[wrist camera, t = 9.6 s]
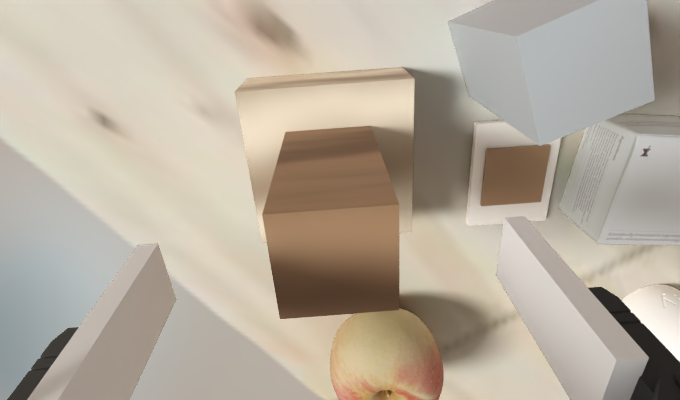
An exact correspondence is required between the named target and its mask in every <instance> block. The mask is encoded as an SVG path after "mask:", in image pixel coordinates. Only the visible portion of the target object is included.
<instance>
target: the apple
mask: <svg viewBox="0 0 680 400" xmlns="http://www.w3.org/2000/svg"><path fill="white" fill-rule="evenodd" d="M330 373H331V380H332V384H333V387H334V390H335V392H336V394H337V397H338V398H339V400H438V399H439V397H440V394H441V390H442V386H443V364H442V359H441V355H440V352H439V349H438V346H437V344H436V342H435V339H434V337H433V335H432V334H431V332H430V330H429V329H428V328H427V326H426V325H425V324H424V323H423V322H422V321H421V320H420V319H419V318H418V317H417V316H416V315H414V314H413V313H411V312H409V311H407V310H404V309H400V308H399V310H394V311H381V312H367V313H356V314H354V315H353V316H351V317H350V318H349V319H348V320H346V321H345V322H344V323H343V325H342V326H341V327H340V328H339V330H338V332H337V333H336V336H335V338H334V341H333V345H332V349H331V357H330Z"/></svg>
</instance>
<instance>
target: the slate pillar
mask: <svg viewBox="0 0 680 400" xmlns="http://www.w3.org/2000/svg"><path fill="white" fill-rule="evenodd" d="M448 25H449V29H450V32H451V36H452V39H453V43H454V46H455V49H456V53H457V56H458V60H459V63H460V67H461V70H462V74H463V77H464V81H465V84H466V88H467V91H468V94H469V97H471V98H472V99H473V100H475V101H476V102H478V103H479V104H481V105H482V106H483V107H485V108H486V109H488V110H489V111H491V112H492V113H493V114H495V115H496V116H498V117H499V118H501V119H502V120H503V121H505V122H506V123H508V124H509V125H511V126H512V127H513V128H515V129H516V130H518V131H519V132H521V133H522V134H523V135H525V136H526V137H528V138H529V139H531V140H532V141H533V142H535V143H536V144H538V145H539V146H541V145H544V144H546V143H549V142H551V141H554V140H556V139H559V138H561V137H564V136H567V135H569V134H572V133H574V132H577V131H579V130H582V129H584V128H587V127H589V126H592V125H594V124H597V123H599V122H602V121H604V120H607V119H609V118H612V117H614V116H617V115H619V114H622V113H624V112H627V111H630V110H632V109H635V108H637V107H640V106H642V105H645V104H647V103H650V102H652V101H655V97H654V84H653V71H652V58H651V46H650V33H649V20H648V7H647V0H494V1H492V2H490V3H487V4H485V5H483V6H481V7H479V8H477V9H474V10H472V11H470V12H468V13H466V14H463V15H461V16H459V17H457V18H455V19H453V20H450V21H448Z"/></svg>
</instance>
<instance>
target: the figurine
mask: <svg viewBox="0 0 680 400" xmlns="http://www.w3.org/2000/svg"><path fill="white" fill-rule="evenodd" d="M622 302H623V303H624V304H625V305H626V306H627V307H628V308H629V309H630V310H631V313H634V314H635V315H636V317H637V318H638V319H639V320H640V322H641V324H644V325H645V326H646V327H647V328H648V329H649V330H650V331H651V332H652V333H653V334H654V335H655V336H656V338H657V339H658V340H659V341H660V342H661V343H662V344H663V345H664V346H665V347H666V348H667V349H668V350H669V351H670V352H671V353H672V354H673V355H674V356H675V357H676V359H677V360H678V361H679V362H680V290H678V289H676V288H674V287H671V286H669V285H664V284H655V285H649V286H645V287H642V288H640V289H637V290H635V291H634V292H632V293H630V294H629V295H628V296H626V297H625V298H624V299H623V300H622Z"/></svg>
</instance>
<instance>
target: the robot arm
mask: <svg viewBox="0 0 680 400" xmlns="http://www.w3.org/2000/svg"><path fill="white" fill-rule="evenodd" d="M496 276H497V278H498V280H499V281H500V283H501V285H502V286H503V288H504V290H505V291H506V293H507V295H508V296H509V298H510V300H511V301H512V303H513V305H514V306H515V308H516V310H517V311H518V313H519V315H520V316H521V318H522V320H523V321H524V323H525V325H526V326H527V328H528V330H529V331H530V333H531V335H532V336H533V338H534V340H535V341H536V343H537V345H538V346H539V348H540V350H541V351H542V353H543V355H544V356H545V358H546V360H547V361H548V363H549V365H550V366H551V368H552V370H553V371H554V373H555V375H556V376H557V378H558V380H559V381H560V383H561V385H562V386H563V388H564V390H565V391H566V393H567V395H568V396H569V398H570V400H680V362H679V361H678V360H677V359H676V357H675V356H674V355H673V354H672V353H671V352H670V351H669V350H668V349H667V348H666V347H665V346H664V345H663V344H662V343H661V342H660V341H659V340H658V339H657V338H656V336H655V335H654V334H653V333H652V332H651V331H650V330H649V329H648V328H647V327H646V326H645V325H644V324H641V322H640V320H639V319H638V318H637V317H636V315H635V314H634V313H631V310H630V309H629V308H628V307H627V306H626V305H625V304H624V303H623V302H622V301H621V300H620V299H619V298H618V297H617V296H615V295H614V294H612V293H610V292H609V291H607V290H605V289H604V288H602V287H594V288H587V287H586V285H585V284H584V283H583V282H582V281H581V280H580V279H579V277H578V276H577V275H576V274H575V273H574V272H573V271H572V270H571V268H570V267H569V266H568V265H567V264H566V263H565V262H564V260H563V259H562V258H561V257H560V256H559V255H558V254H557V252H556V251H555V250H554V249H553V248H552V247H551V246H550V245H549V243H548V242H547V241H546V240H545V239H544V238H543V237H542V235H541V234H540V233H539V232H538V231H537V230H536V229H535V227H534V226H533V225H532V224H531V223H530V222H529V221H528V220H527V218H526V217H525V216H519V217H506V218H504V223H503V230H502V237H501V244H500V251H499V258H498V265H497V272H496ZM175 301H176V297H175V294H174V291H173V288H172V285H171V282H170V279H169V276H168V273H167V269H166V266H165V263H164V260H163V257H162V254H161V251H160V248H159V245H158V243H157V244H143V245H137V247H136V248H135V249H134V251H133V252H132V254H131V255H130V257H129V258H128V259H127V261H126V262H125V263H124V265H123V266H122V268H121V269H120V270H119V272H118V273H117V275H116V276H115V277H114V279H113V280H112V282H111V283H110V284H109V286H108V287H107V289H106V290H105V292H104V293H103V294H102V296H101V297H100V299H99V300H98V301H97V303H96V304H95V305H94V307H93V308H92V310H91V311H90V312H89V314H88V315H87V317H86V318H85V319H84V321H83V322H82V324H81V325H80V327H77V328H68V329H66V330H65V331H64V332H63V333H62V334H60V335H59V336H58V337H57V338H55V339H54V340H53V341H52V342H51V343H50V344H49V346H48V347H47V348H46V350H45V351H44V352H43V353H42V355H41V358H40V359H38V360H37V361H36V363H35V364H34V365H33V367H32V370H31V371H29V372H28V373H27V375H26V376H25V377H24V378H23V380H22V381H21V383H20V384H19V385H18V386H17V388H16V389H15V390H14V392H13V393H12V394H11V395H10V397H9V398H8V399H7V400H130V398H131V396H132V394H133V391H134V389H135V387H136V385H137V382H138V381H139V379H140V376H141V374H142V372H143V370H144V368H145V366H146V364H147V361H148V359H149V357H150V355H151V353H152V350H153V349H154V346H155V344H156V342H157V340H158V338H159V336H160V333H161V331H162V329H163V327H164V325H165V323H166V321H167V319H168V316H169V314H170V312H171V310H172V308H173V305H174V303H175Z"/></svg>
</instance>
